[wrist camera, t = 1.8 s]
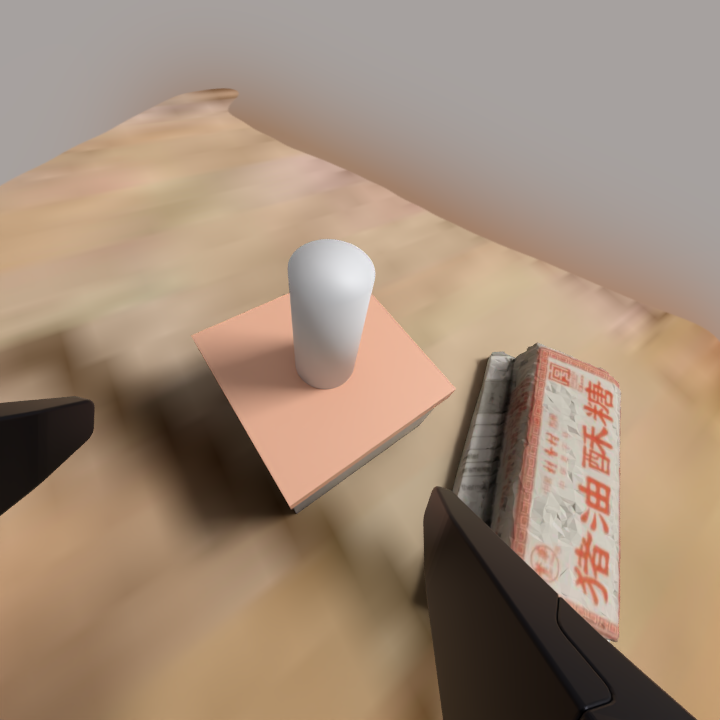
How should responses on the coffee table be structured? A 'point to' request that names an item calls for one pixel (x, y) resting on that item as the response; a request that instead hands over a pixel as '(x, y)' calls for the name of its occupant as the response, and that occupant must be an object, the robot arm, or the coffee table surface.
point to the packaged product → (551, 474)
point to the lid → (321, 370)
